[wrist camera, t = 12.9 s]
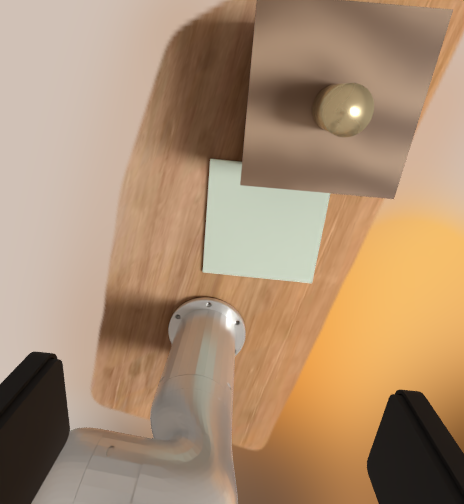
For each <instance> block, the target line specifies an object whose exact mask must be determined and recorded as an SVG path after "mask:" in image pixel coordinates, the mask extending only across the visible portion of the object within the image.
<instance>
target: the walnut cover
mask: <svg viewBox="0 0 464 504" xmlns="http://www.w3.org/2000/svg"><path fill="white" fill-rule="evenodd" d="M452 12H453V10H451V9H439V8H428V7H416V6H404V5H392V4H381V3H369V2H357V1H345V0H257V4H256V15H255V26H254V37H253V48H252V59H251V70H250V81H249V92H248V103H247V115H246V126H245V137H244V148H243V159H242V170H241V181H240V185H243V186H254V187H265V188H276V189H287V190H299V191H310V192H321V193H332V194H344V195H355V196H366V197H377V198H388V199H394V197H395V194H396V190H397V187H398V184H399V181H400V178H401V174H402V171H403V168H404V165H405V162H406V158H407V155H408V152H409V149H410V146H411V143H412V139H413V136H414V133H415V130H416V127H417V123H418V120H419V117H420V114H421V111H422V108H423V104H424V101H425V98H426V95H427V92H428V88H429V85H430V82H431V79H432V76H433V72H434V69H435V66H436V63H437V60H438V56H439V53H440V50H441V47H442V44H443V40H444V37H445V34H446V31H447V28H448V24H449V21H450V18H451V15H452Z"/></svg>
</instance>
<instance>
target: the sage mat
mask: <svg viewBox="0 0 464 504" xmlns="http://www.w3.org/2000/svg"><path fill="white" fill-rule="evenodd" d="M241 170H242V162H240V161H230V160H220V159H210V169H209V184H208V199H207V214H206V229H205V244H204V259H203V272H205V273H215V274H225V275H235V276H245V277H254V278H264V279H274V280H284V281H294V282H304V283H312V281H313V276H314V271H315V266H316V261H317V256H318V251H319V246H320V241H321V237H322V232H323V227H324V222H325V217H326V212H327V207H328V202H329V197H330V193H321V192H310V191H299V190H287V189H276V188H265V187H254V186H243V185H240V181H241Z"/></svg>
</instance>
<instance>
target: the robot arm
mask: <svg viewBox="0 0 464 504" xmlns="http://www.w3.org/2000/svg"><path fill="white" fill-rule="evenodd" d="M208 302H210V303H208ZM168 334H169V339H170V342H171V344H172V346H171V349H170V352H169V355H168V358H167V361H166V364H165V367H164V370H163V373H162V376H161V379H160V382H159V385H158V388H157V391H156V394H155V397H154V400H153V403H152V407H151V416H150V420H151V429H152V433H153V437H154V438H152V439H150V438H144V437H139V436H134V435H129V434H124V433H119V432H114V431H109V430H103V429H96V428H77V429H74V430H71V431H70V426H69V417H68V409H67V400H66V391H65V382H64V373H63V364H62V361H61V360H58V359H57V356H56V355H55V354H52V353H43V352H32V353H30V354H29V355H28V356H27V357H26V358H25V359H24V360H23V361H22V362H21V363H20V364H19V365H18V366H17V367H16V368H15V369H14V371H13V372H12V373H11V374H10V375H9V376H8V377H7V378H6V379H5V380H4V381H3V382H2V383H1V384H0V504H238V500H237V489H236V482H235V474H234V468H233V457H232V406H233V385H234V363H235V356H236V355H237V354H238V353H239V351H240V350H241V348H242V346H243V344H244V341H245V325H244V322H243V319H242V317H241V316H240V314H239V313H238V312H237V310H236V309H235V308H233V307H232V306H231V305H230V304H228V303H226V302H224V301H222V300H219V299H216V298H209V297H203V298H196V299H192V300H189V301H187V302H185V303H184V304H182V305H181V306H180V307H178V308H177V309H176V311H175V312H174V314H173V315H172V317H171V320H170V323H169V327H168ZM367 470H368V474H369V478H370V480H371V483H372V486H373V489H374V492H375V494H376V497H377V500H378V502H379V504H464V453H463V452H462V451H461V449H460V448H459V446H458V445H457V443H456V442H455V440H454V439H453V437H452V436H451V434H450V433H449V431H448V430H447V428H446V427H445V425H444V424H443V422H442V421H441V419H440V418H439V416H438V415H437V413H436V412H435V411H434V409H433V407H432V406H431V405H430V403H429V402H428V400H427V399H426V397H425V396H424V395H423V393H421V392H418V391H408V390H397V391H396V393H395V395H394V394H393V395H391V396H390V397H389V400H388V402H387V405H386V408H385V411H384V414H383V417H382V420H381V422H380V426H379V428H378V431H377V434H376V437H375V440H374V443H373V445H372V448H371V451H370V454H369V457H368V460H367Z"/></svg>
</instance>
